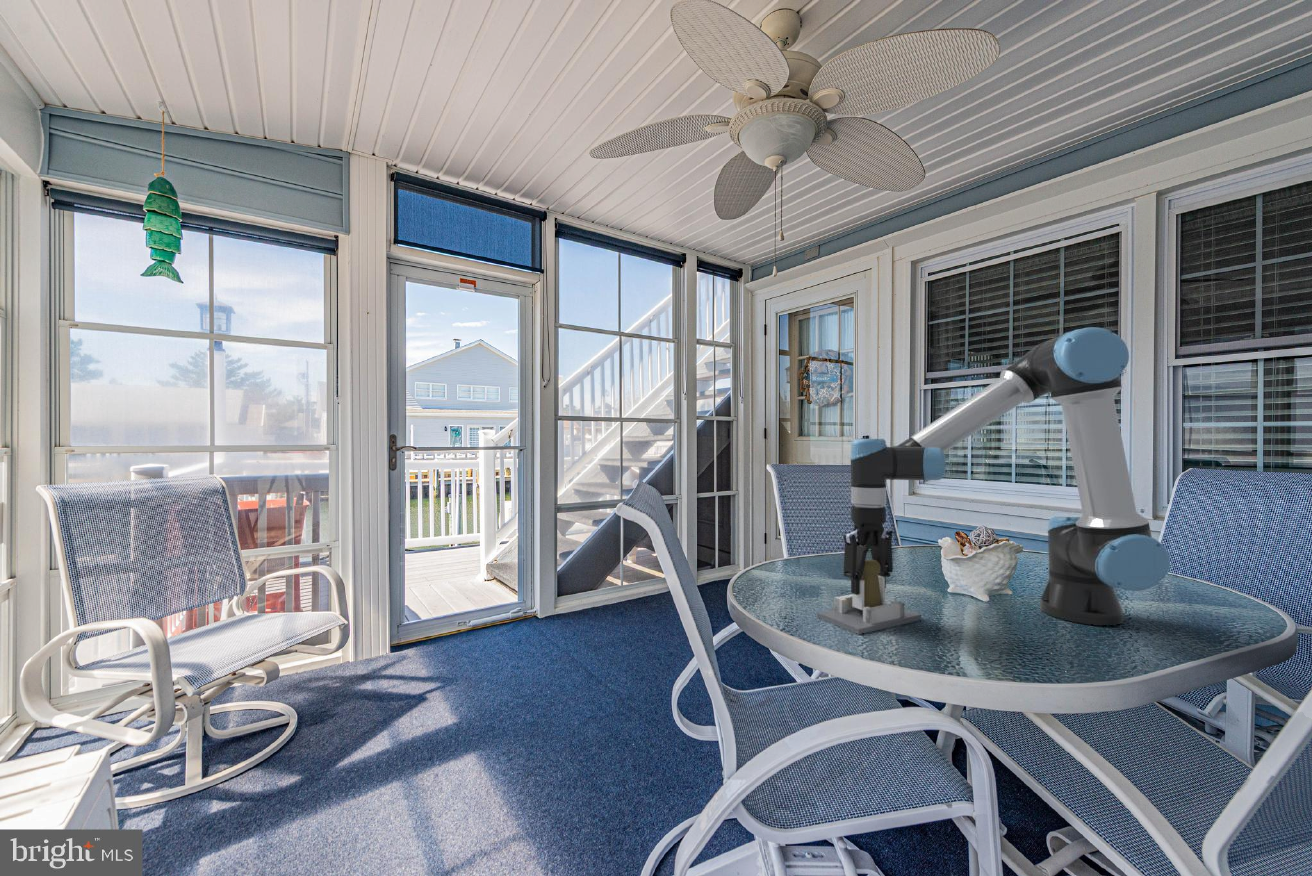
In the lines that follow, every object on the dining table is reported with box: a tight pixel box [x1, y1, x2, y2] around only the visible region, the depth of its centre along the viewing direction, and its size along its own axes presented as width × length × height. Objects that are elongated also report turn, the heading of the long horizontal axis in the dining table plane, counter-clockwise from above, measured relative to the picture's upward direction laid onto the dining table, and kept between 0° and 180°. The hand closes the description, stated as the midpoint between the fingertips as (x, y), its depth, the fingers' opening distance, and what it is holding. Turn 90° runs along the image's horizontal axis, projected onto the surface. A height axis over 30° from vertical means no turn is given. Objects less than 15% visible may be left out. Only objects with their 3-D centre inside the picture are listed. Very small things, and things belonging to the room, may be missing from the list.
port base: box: [816, 593, 922, 636], centre depth 119 cm, size 12×20×4 cm, turn 117°
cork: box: [857, 558, 882, 609], centre depth 119 cm, size 6×6×11 cm
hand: (868, 605), depth 119 cm, fingers closed on cork, 6 cm apart
